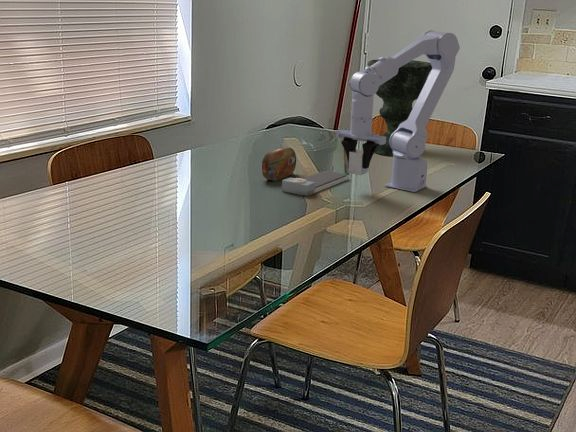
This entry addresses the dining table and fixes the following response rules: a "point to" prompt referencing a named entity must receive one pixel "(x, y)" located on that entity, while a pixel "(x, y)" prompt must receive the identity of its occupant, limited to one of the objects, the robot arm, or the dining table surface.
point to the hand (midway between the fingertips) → (358, 166)
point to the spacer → (356, 162)
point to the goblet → (400, 97)
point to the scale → (313, 182)
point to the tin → (279, 164)
